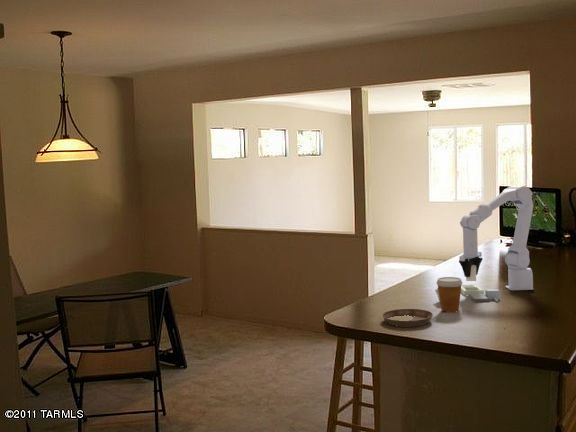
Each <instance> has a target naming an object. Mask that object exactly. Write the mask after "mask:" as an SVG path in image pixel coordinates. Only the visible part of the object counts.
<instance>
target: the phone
mask: <svg viewBox="0 0 576 432" xmlns="http://www.w3.org/2000/svg"><path fill="white" fill-rule="evenodd" d="M468 298H469V299H470V300H471V301H472V302H473V301H474V302H473V303H489V302H490V299H489V298H488V297H487V296H486V294H485V293H484V294H468Z"/></svg>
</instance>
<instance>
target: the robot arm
mask: <svg viewBox="0 0 576 432" xmlns="http://www.w3.org/2000/svg"><path fill="white" fill-rule="evenodd" d="M506 202H511V203H513V204H515V205H516V207H517V208H518V212H517V217H516V224H515V229H514V235H513V240H512V244H511V245H509V247H508V248H507V249H508V250H507V252H506V254H505V256H504V262H505V265H507V267H508V268H507V272H508V275H507V276H508V278H507V279H508V280H507V282H508V285H505V288H507V290H510V291H528V290H529V291H530V290H534V275H533V270H532V268H531V267H529V265H530V260H531V259H530V251H529V250H528V247H527V242H528V237H529V232H530V227H531V220H532V216H533V209H534V202H533V192H532V190H531V189H530V188H529V187H528V186H526V185H523V186H522V185H521V186H520V185H519V186H518V185H509V186H508V187H507V188H504V189H503V191H502V192H500V193H499V194H498V195H497V196H495V198H493V199H492V200H491V201H489V203H487V204H486V203H483V204H479V205H478V206H477V207H476V209H474V210H473V211H470V212H469V214H466V215H463V216H462V218H461V220H460V222H459V225H460V227H461V228H462V237H463V238H462V239H463V240H462V242H463V243H462V244H463V246H462V247H463V254H461V255H459V260H458V263H459V264H460V266H461V270H462V273H463V275H464V277H465V278H466V277H470V274H471V266H472V265H476V276H477V275H478V274H479V270H480V265H481V263H482V261H483V257H482V255H483V254H482V253H483V252H482V251H479V250H478V246H479V245H478V229H479V227H480V225H481V223H483V222H484V221H486V220H487V219H488V218H489V217H491V216H492V214H493V211H495V210H496V209H497V208H499V207H500V206H502V205H504V204H505V203H506Z"/></svg>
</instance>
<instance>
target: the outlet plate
mask: <svg viewBox="0 0 576 432" xmlns="http://www.w3.org/2000/svg"><path fill="white" fill-rule="evenodd" d="M484 292H485V291H484V289H482V288H481V286H479V285H477V284H462V285H461V293H460V294H462V295H463V296H464V295H468V294H484V295H485V293H484Z"/></svg>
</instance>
